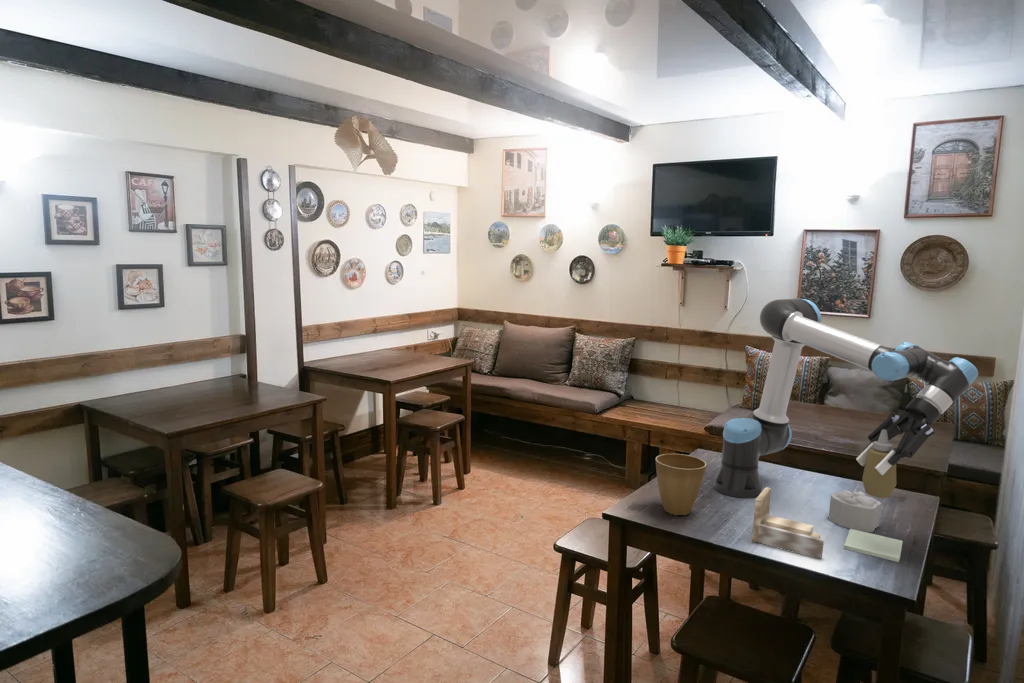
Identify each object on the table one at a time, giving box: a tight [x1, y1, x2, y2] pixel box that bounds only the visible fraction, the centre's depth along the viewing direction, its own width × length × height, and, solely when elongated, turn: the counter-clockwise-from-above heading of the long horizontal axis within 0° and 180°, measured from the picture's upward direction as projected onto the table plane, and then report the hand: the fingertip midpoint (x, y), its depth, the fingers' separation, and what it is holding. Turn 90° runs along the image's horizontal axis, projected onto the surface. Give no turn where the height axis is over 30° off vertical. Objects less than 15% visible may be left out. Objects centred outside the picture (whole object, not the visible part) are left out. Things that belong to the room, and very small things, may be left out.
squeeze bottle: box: [861, 429, 897, 499], centre depth 176 cm, size 8×8×18 cm
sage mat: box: [843, 528, 904, 563], centre depth 179 cm, size 13×13×1 cm
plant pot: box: [655, 453, 707, 516], centre depth 199 cm, size 15×15×16 cm
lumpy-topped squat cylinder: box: [828, 490, 882, 533], centre depth 195 cm, size 10×13×9 cm
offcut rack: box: [751, 487, 825, 560], centre depth 180 cm, size 18×12×12 cm
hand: (869, 466), depth 176 cm, fingers closed on squeeze bottle, 6 cm apart
